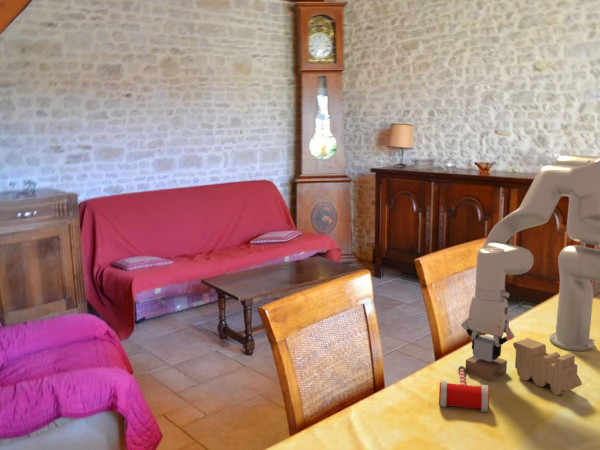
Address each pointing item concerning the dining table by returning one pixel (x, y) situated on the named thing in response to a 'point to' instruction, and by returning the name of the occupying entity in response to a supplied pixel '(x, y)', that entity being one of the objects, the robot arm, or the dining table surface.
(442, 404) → the toy hammer
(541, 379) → the toy train
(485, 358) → the slate brick
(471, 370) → the walnut block
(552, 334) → the robot arm
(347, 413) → the dining table surface
